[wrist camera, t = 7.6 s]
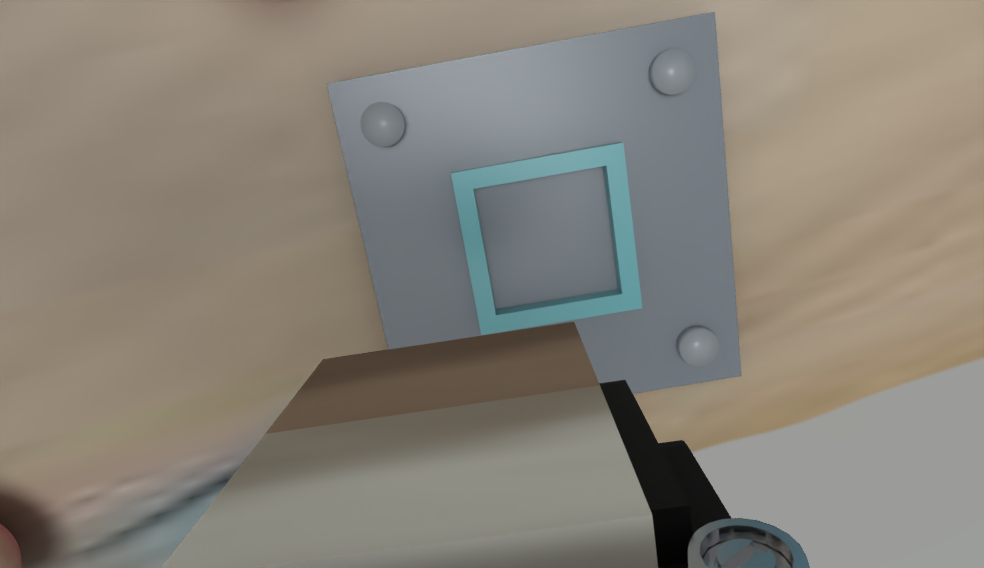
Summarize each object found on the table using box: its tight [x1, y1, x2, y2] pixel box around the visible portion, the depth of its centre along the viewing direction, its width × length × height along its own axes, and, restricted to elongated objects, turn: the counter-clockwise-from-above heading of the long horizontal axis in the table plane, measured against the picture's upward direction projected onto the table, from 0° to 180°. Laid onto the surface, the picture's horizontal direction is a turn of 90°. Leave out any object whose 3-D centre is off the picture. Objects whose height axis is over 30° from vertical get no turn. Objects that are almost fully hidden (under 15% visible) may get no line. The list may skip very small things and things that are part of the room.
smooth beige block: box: [162, 322, 658, 568], centre depth 9 cm, size 5×5×6 cm
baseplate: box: [327, 12, 741, 394], centre depth 33 cm, size 20×20×2 cm
